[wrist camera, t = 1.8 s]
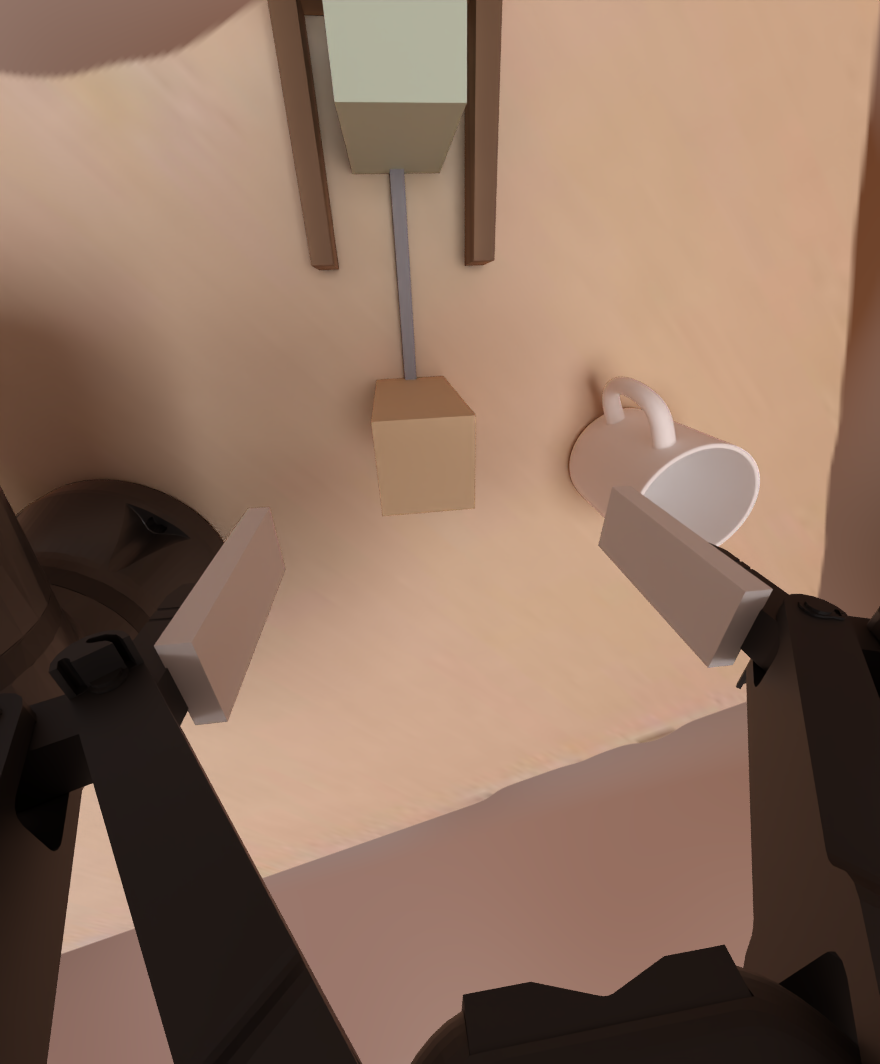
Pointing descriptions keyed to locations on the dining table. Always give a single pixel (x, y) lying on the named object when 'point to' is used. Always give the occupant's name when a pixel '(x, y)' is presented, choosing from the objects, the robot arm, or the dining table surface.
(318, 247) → the lane
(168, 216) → the dining table surface
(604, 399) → the cup
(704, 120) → the dining table surface
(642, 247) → the dining table surface
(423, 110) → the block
